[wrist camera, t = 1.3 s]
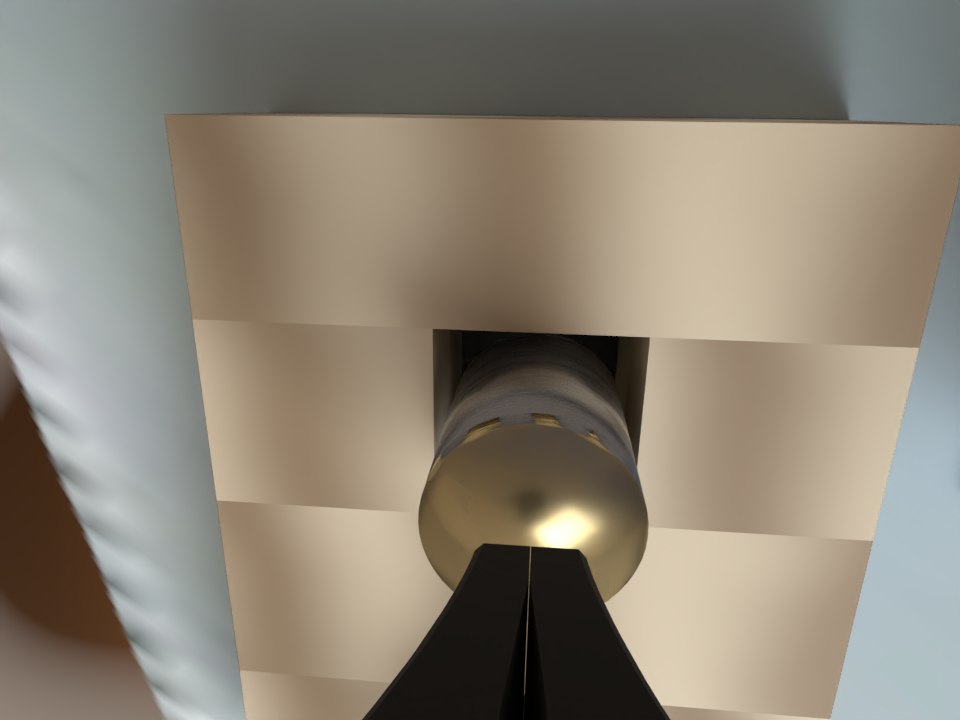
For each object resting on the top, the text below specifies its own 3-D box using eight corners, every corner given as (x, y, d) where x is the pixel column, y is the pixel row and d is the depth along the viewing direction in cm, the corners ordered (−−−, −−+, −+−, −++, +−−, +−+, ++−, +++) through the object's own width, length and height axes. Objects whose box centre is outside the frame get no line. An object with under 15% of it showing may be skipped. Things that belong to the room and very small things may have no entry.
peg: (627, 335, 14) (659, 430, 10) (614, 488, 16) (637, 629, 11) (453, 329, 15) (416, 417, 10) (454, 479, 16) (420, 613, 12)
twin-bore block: (850, 120, 16) (972, 125, 12) (729, 780, 23) (774, 948, 19) (267, 112, 17) (164, 114, 13) (323, 743, 25) (269, 893, 20)
